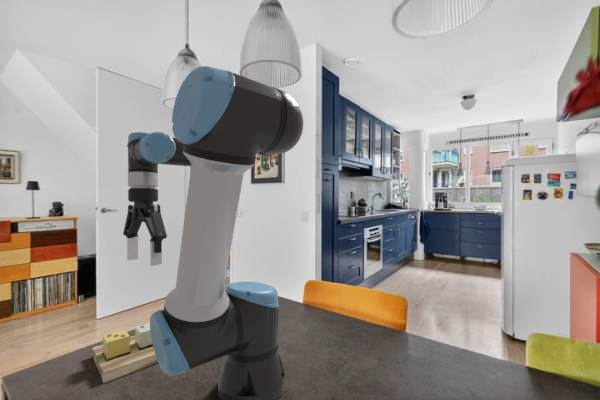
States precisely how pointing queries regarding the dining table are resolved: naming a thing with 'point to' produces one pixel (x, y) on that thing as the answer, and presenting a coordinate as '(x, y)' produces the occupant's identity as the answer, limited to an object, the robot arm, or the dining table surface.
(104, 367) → the board
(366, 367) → the dining table surface
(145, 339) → the tile two
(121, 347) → the tile three
